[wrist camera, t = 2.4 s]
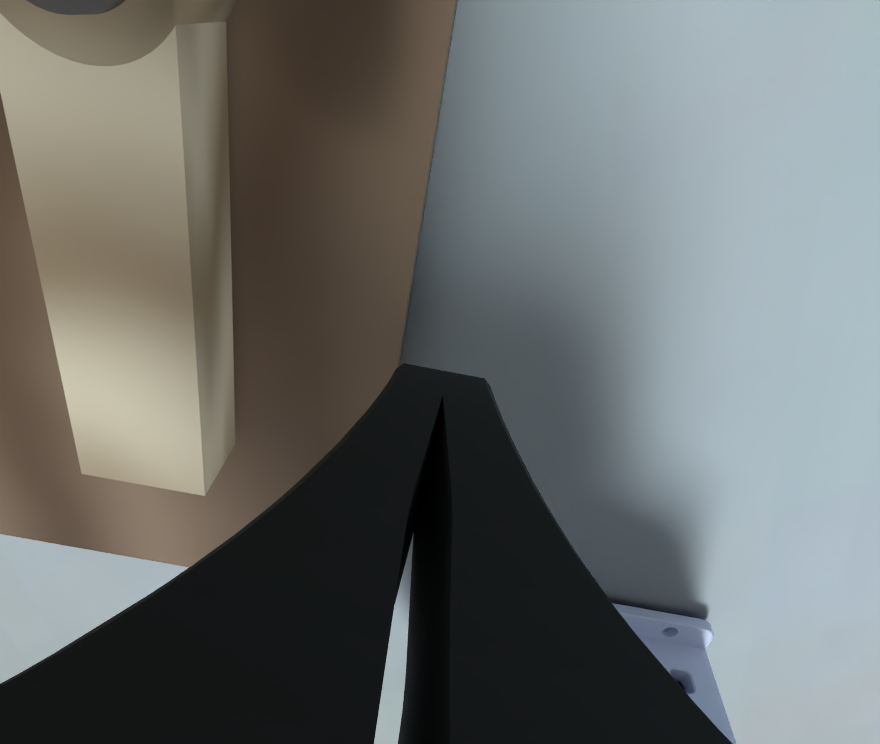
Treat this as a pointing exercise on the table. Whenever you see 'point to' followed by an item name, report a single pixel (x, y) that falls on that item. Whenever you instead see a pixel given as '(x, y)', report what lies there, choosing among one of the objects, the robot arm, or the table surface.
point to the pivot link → (130, 223)
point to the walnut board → (256, 275)
